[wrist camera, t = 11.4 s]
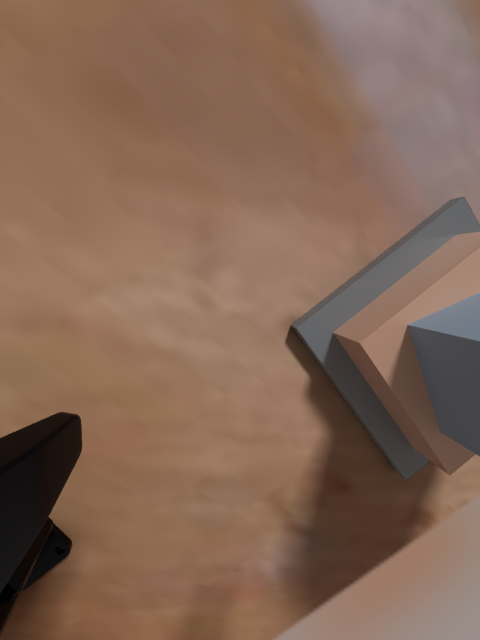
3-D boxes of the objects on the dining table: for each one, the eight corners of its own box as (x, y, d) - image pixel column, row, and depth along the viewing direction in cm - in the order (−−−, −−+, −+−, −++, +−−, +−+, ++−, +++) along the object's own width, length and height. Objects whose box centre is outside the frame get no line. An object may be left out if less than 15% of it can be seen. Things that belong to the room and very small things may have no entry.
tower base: (396, 472, 23) (441, 513, 19) (290, 325, 20) (317, 338, 16) (536, 355, 24) (608, 372, 20) (450, 199, 21) (513, 183, 17)
